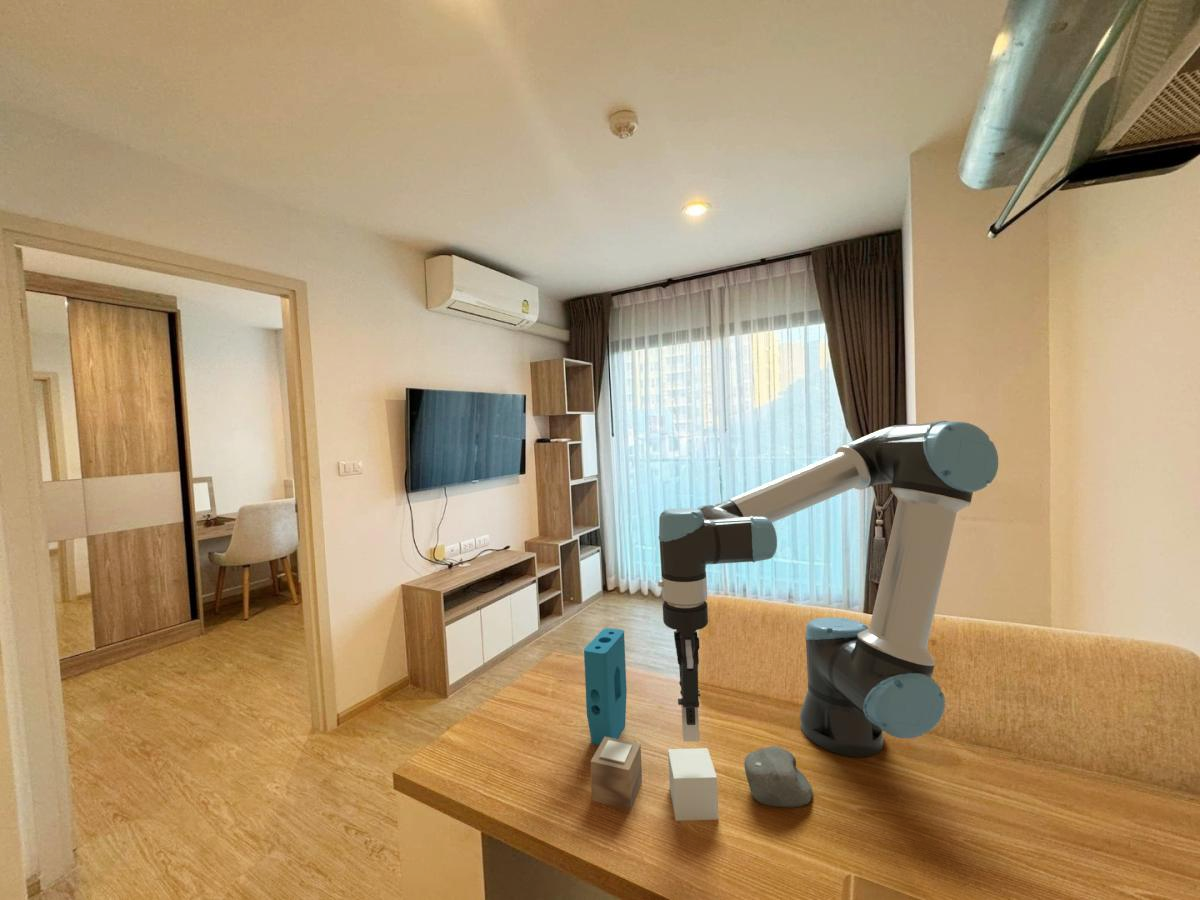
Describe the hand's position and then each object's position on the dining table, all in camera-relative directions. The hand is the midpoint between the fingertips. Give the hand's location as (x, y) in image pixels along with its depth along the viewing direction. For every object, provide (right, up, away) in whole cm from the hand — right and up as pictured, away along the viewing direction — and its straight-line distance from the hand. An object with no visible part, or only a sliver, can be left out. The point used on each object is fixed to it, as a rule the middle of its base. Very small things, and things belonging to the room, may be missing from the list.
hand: (691, 738), depth 77 cm
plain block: (0, -11, 0) cm, 11 cm away
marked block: (-12, -12, +3) cm, 17 cm away
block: (-14, -12, +20) cm, 27 cm away
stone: (+16, -11, +1) cm, 19 cm away
